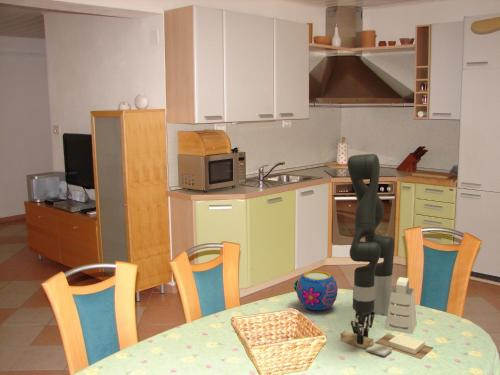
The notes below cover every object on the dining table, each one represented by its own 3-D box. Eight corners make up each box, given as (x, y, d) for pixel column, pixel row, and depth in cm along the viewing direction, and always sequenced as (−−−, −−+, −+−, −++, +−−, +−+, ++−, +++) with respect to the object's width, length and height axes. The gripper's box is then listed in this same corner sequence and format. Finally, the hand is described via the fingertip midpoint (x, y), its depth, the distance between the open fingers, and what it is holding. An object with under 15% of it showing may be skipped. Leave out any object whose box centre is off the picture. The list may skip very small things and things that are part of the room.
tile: (398, 333, 196) (424, 341, 189) (398, 338, 196) (424, 346, 190) (388, 341, 190) (415, 349, 183) (388, 346, 190) (414, 354, 184)
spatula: (338, 343, 194) (337, 334, 193) (346, 337, 198) (346, 329, 198) (384, 356, 182) (384, 347, 181) (392, 350, 186) (392, 341, 186)
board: (387, 336, 201) (387, 333, 201) (433, 350, 189) (433, 347, 189) (373, 346, 193) (373, 343, 193) (420, 361, 181) (420, 359, 181)
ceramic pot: (314, 297, 241) (314, 265, 238) (345, 308, 228) (346, 275, 225) (287, 307, 229) (287, 274, 227) (319, 319, 216) (319, 284, 214)
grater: (384, 331, 205) (386, 282, 202) (390, 321, 214) (391, 274, 211) (412, 336, 200) (415, 286, 197) (416, 326, 210) (419, 277, 206)
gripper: (364, 288, 195) (362, 332, 198) (344, 299, 185) (343, 346, 188) (382, 293, 190) (381, 338, 193) (363, 304, 180) (361, 352, 183)
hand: (362, 342), depth 190 cm, fingers open, 3 cm apart
